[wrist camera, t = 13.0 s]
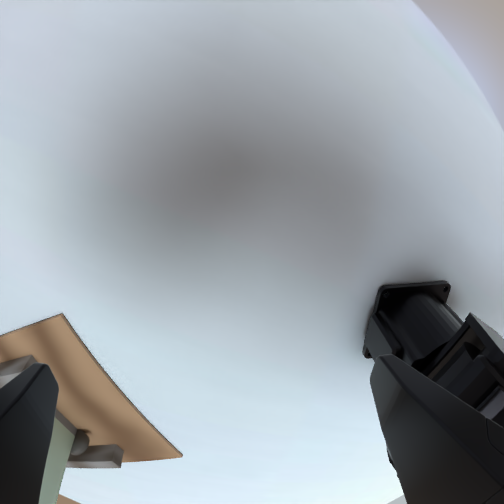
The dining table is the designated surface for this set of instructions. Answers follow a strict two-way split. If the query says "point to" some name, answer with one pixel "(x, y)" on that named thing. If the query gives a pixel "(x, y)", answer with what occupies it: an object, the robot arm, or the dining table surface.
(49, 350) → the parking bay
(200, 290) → the dining table surface
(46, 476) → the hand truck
